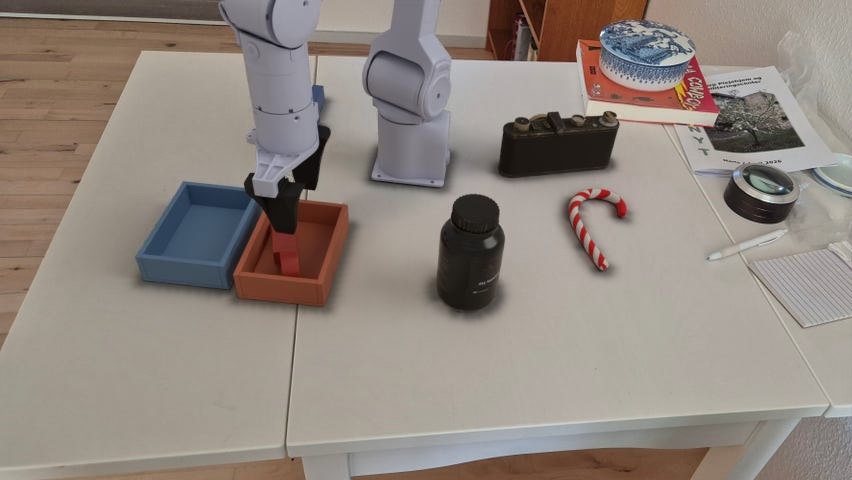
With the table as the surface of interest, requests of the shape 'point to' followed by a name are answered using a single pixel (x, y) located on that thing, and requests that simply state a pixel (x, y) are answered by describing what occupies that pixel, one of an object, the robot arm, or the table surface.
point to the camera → (557, 144)
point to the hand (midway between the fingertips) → (296, 208)
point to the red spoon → (286, 253)
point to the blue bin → (200, 236)
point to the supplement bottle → (470, 253)
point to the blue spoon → (318, 97)
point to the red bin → (317, 255)
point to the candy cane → (579, 226)
